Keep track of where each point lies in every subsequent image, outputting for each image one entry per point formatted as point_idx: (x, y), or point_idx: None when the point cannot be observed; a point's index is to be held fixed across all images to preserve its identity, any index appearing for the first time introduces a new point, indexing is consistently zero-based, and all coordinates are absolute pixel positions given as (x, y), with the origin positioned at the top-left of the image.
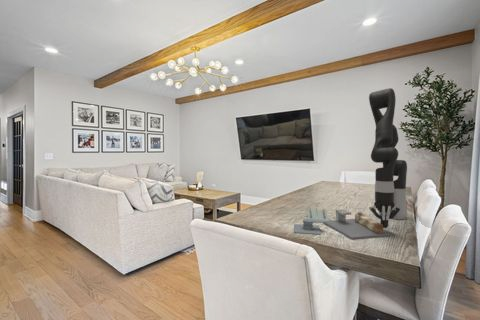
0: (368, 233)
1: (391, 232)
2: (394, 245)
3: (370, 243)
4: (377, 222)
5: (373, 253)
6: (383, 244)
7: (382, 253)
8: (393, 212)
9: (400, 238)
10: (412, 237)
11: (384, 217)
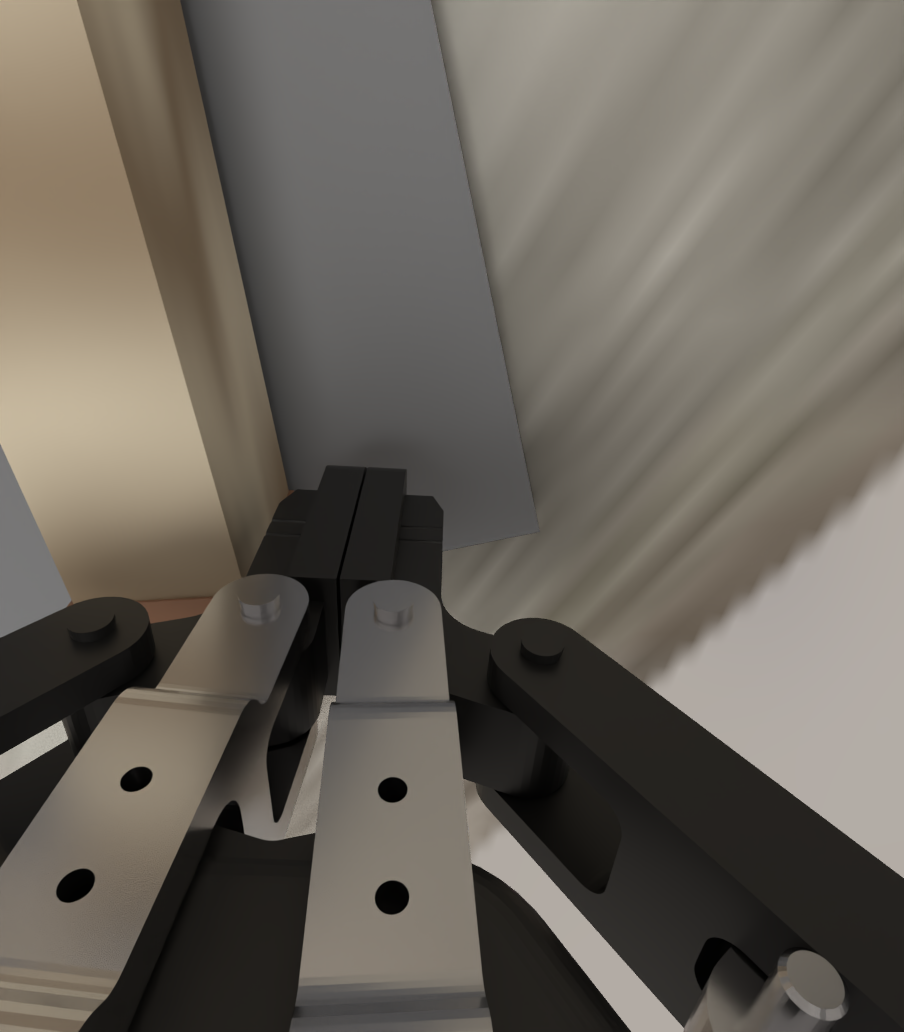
0: (30, 542)
1: (509, 483)
2: (310, 794)
3: (27, 758)
4: (198, 490)
5: None
6: None
7: None
8: (635, 940)
9: (544, 611)
10: (778, 572)
11: (289, 772)
